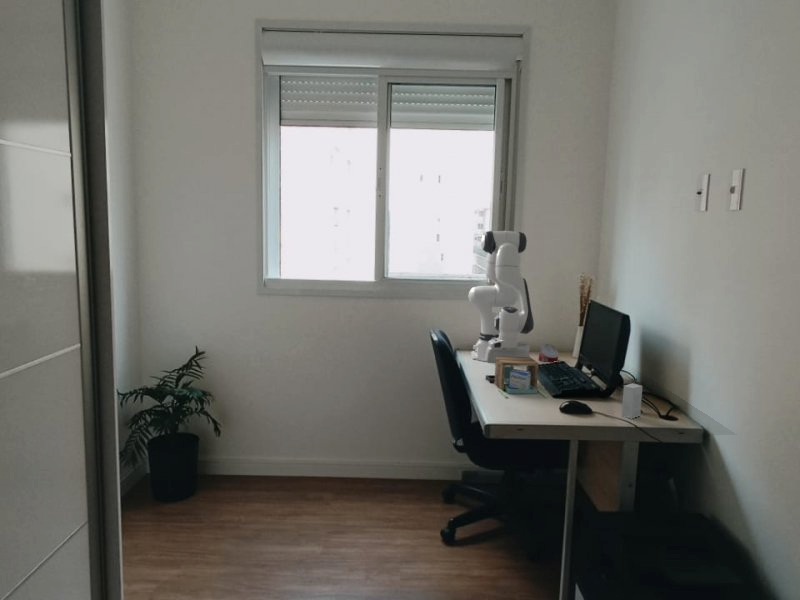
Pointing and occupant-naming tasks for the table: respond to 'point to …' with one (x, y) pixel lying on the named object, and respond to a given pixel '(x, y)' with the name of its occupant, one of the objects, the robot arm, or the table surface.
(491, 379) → the pit left
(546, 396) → the bay marker right
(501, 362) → the tunnel
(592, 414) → the table surface
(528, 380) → the medicine box
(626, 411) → the skincare box
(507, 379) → the sled
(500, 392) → the bay marker left
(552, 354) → the canned food
